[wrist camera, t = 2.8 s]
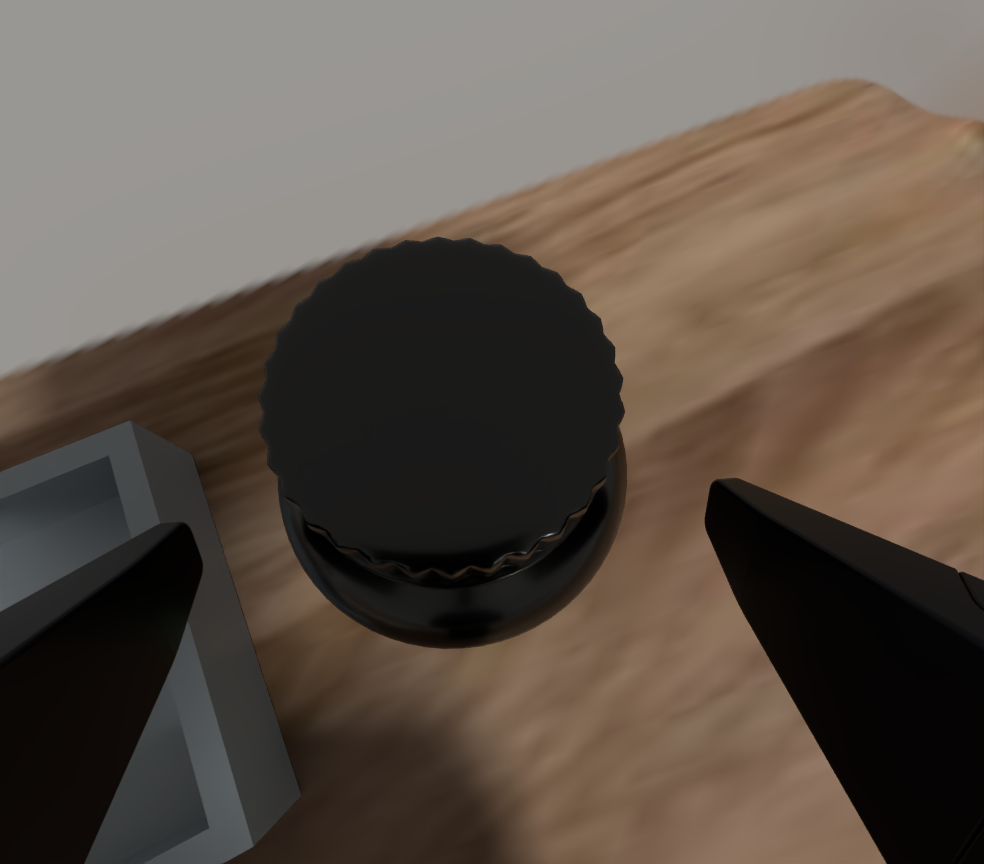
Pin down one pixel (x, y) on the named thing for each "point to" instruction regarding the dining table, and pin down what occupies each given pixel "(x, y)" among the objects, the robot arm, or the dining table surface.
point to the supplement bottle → (446, 441)
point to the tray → (197, 666)
